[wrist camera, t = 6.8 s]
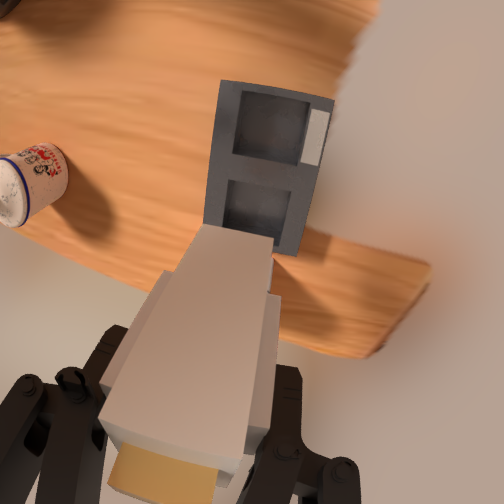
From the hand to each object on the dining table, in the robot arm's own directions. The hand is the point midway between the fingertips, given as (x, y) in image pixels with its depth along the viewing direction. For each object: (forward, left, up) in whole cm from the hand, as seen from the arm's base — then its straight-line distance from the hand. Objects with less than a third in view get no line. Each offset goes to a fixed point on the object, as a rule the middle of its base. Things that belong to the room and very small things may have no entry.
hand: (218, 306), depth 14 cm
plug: (0, 0, -4) cm, 4 cm away
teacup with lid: (+2, -31, -20) cm, 37 cm away
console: (-2, 0, -20) cm, 20 cm away
